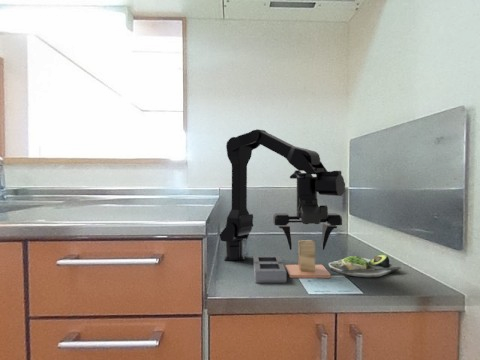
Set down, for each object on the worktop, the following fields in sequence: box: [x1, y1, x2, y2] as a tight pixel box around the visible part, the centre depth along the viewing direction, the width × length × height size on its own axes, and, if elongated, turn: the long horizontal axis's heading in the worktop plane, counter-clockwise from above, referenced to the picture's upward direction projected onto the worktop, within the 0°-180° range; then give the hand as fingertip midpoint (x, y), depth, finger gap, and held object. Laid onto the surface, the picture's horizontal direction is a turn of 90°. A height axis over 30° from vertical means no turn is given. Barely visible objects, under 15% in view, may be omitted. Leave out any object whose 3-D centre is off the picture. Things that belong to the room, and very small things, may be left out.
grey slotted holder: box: [252, 255, 287, 284], centre depth 105 cm, size 18×8×3 cm, turn 0°
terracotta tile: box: [284, 264, 332, 279], centre depth 106 cm, size 11×11×1 cm
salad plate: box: [328, 254, 402, 278], centre depth 107 cm, size 19×18×5 cm
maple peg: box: [298, 239, 316, 271], centre depth 106 cm, size 4×4×8 cm
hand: (306, 249), depth 106 cm, fingers open, 9 cm apart
